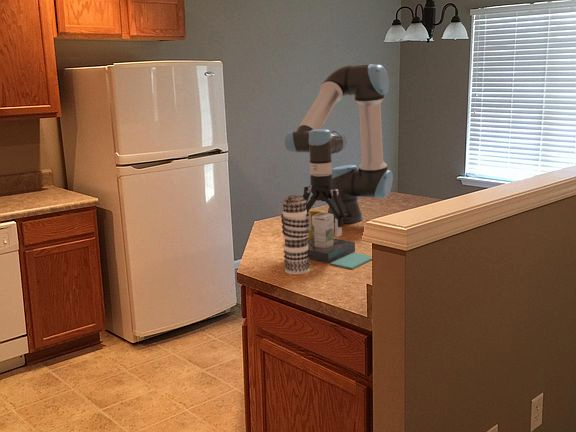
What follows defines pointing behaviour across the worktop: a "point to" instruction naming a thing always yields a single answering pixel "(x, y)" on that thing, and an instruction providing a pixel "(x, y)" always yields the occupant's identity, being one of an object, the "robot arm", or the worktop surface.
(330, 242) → the syrup box
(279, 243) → the worktop surface
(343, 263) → the mat
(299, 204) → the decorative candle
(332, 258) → the grey square tray
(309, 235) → the plant pot
